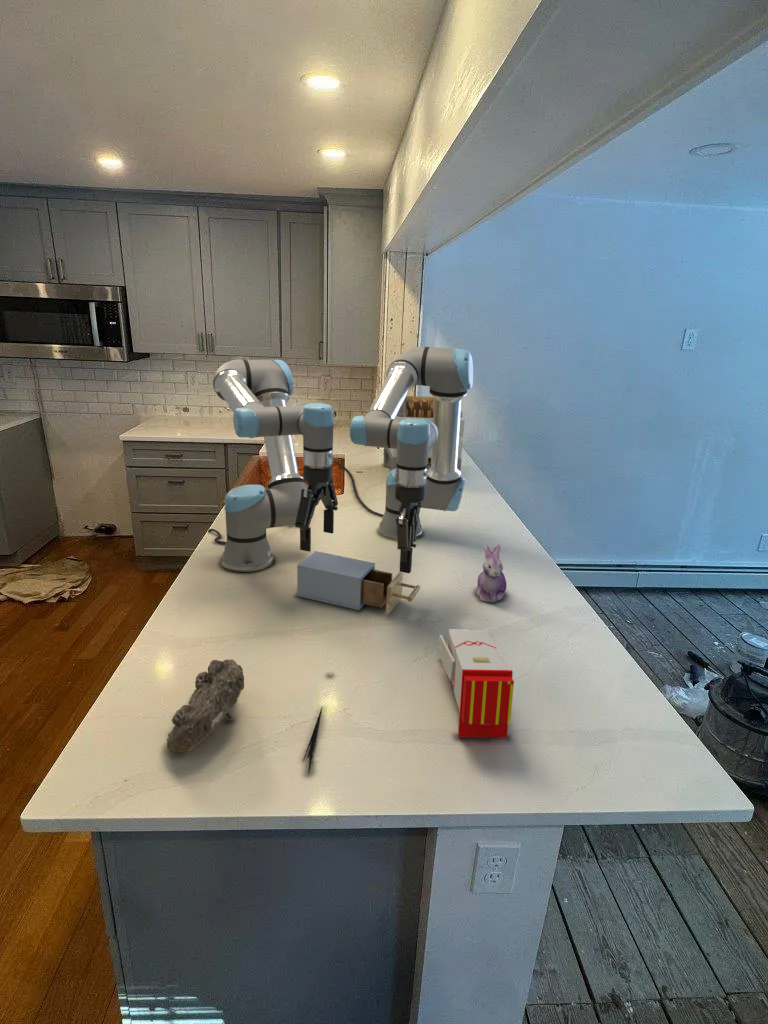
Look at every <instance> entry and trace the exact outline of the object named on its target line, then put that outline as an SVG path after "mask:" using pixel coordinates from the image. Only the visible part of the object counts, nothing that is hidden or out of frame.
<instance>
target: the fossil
mask: <svg viewBox="0 0 768 1024" xmlns="http://www.w3.org/2000/svg"><path fill="white" fill-rule="evenodd" d="M243 670H244V669H243V667H242V665H240V664H237V662H236V661H235V660H234V659H232V658H231V659H227V658H226V659H224V660H223V661H222V660H217V659H212V660H211V661H210V663H209V665H208V666H207V671H201V672H199V673H198V674H197V675H196V676H195V680H194V684H195V685H194V687H195V689H194V690H193V693H192V694H191V697H190V698H189V700H188V704H184V705H182V706H181V707H180V709H177V710H176V711H175V713H174V715H173V716H172V718H171V723H172V724H173V727H172V730H171V731H170V732H168V734H167V738H166V741H167V742H166V745H167V749H168V750H169V751H173V752H174V753H176V754H178V753H182V752H188V751H189V752H192V751H193V750H195V748H196V747H197V746H199V744H200V743H201V742H203V741H204V740H205V739H206V738H207V737H208V736H209V735H210V734H211V733H212V732H214V730H215V729H217V727H218V726H219V724H220V722H221V721H222V720H223V719H224V718H225V716H226V717H227V719H229V720H233V717H232V715H230V714H229V710H230V709H231V708H234V706H235V704H236V703H237V702H238V699H239V697H240V695H241V693H242V691H243V690H245V689H244V688H245V675H244V671H243Z"/></svg>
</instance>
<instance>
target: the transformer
mask: <svg viewBox="0 0 768 1024" xmlns="http://www.w3.org/2000/svg"><path fill="white" fill-rule="evenodd" d="M433 412H434V397H433V396H415V395H414V396H413V395H412V396H411V395H407V396H406V398H405V400H404V402H403V404H402V406H401V408H400V410H399V412H398V414H397V416H396V418H395V419H398V420H404V419H427V420H430V421H432V422H433ZM464 429H465V419H464V418H463V411H461V415H460V429H459V444H458V459H457V469H458V470H460V472H461V473H462V461H463V460H462V453H463V442H464V441H463V440H462V439H463V438H464V431H465V430H464ZM431 456H432V448H430V450H429V451H428V461H427V467H431ZM396 463H397V449H392V448H384V447H383V466H384V467H388V468H389V472H390V471H391V470H393V469H396Z"/></svg>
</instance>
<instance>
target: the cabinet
mask: <svg viewBox="0 0 768 1024" xmlns="http://www.w3.org/2000/svg"><path fill="white" fill-rule="evenodd" d="M296 568H297V570H296V575H297V577H296V582H297V585H296V586H297V590H296V591H297V597H300V598H304V599H309V600H313V601H318V602H320V603H321V602H322V603H326V604H330V605H335V606H338V607H339V606H340V607H342V608H348V609H351V610H355V611H360V610H361V609H362V608H363V607H364V606H365V604H363V603H361V582H362V579H363V578H364V577H365V576H366V575H367V574H368V573H369V572H370V571H371V570H372V569H374V570H376V563H375V562H373V561H372V562H371V561H367V560H362V559H358V558H352V557H346V556H342V555H336V554H333V553H327V552H323V551H318V550H314V551H313V552H311V553H310V554H309V555H308V556H307V557H306V558H304V559H303V560H301V561H300V562H299V563H298V564H296Z"/></svg>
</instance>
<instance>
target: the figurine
mask: <svg viewBox="0 0 768 1024" xmlns="http://www.w3.org/2000/svg"><path fill="white" fill-rule="evenodd" d="M500 553H501V545H500V544H496V545H495V547H494V549H493V550H491V547H490V546H489V545H487V544H485V545H484V561H483V564H482V570H483V571H482V572H481V573H480V574H478V576H477V586H476V595H477V596H478V597H479V599H480V600H481V601H483V602H488V603H495V602H496V601H501V600H502V599H503V598H504V596H505V593H506V590H507V580H506V576H505V574H504V572H503V570H504V566H503V562H502V560H501V558H500Z"/></svg>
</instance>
